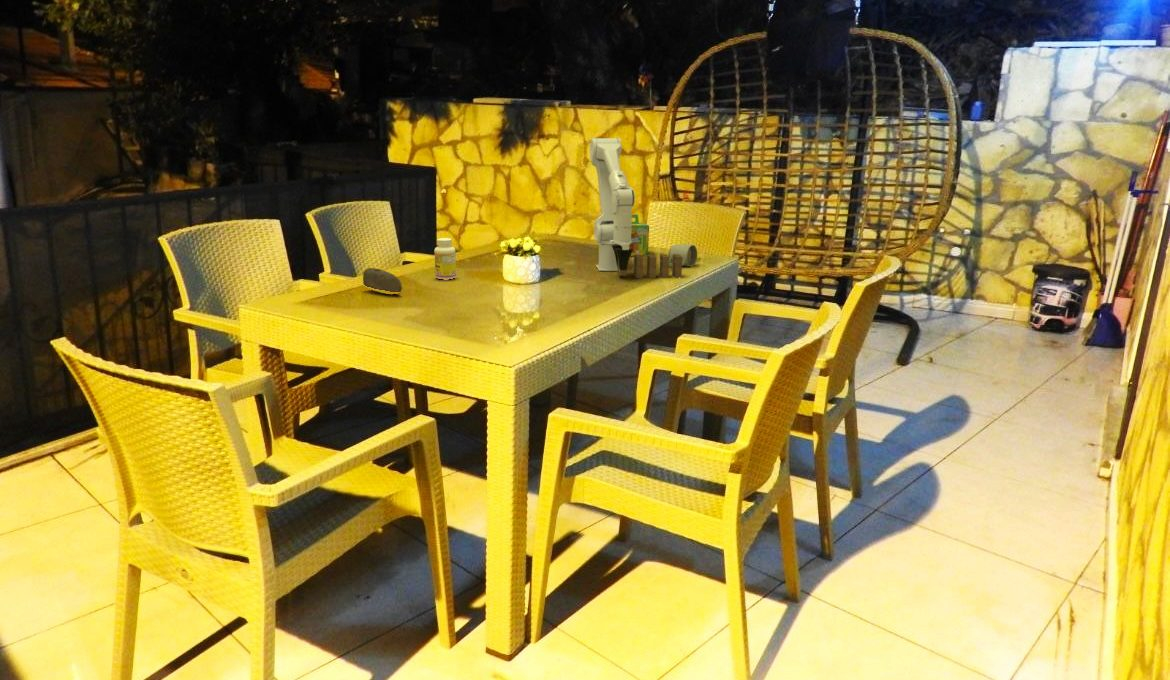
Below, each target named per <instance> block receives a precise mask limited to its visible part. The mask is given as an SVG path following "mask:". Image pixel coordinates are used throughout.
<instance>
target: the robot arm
mask: <svg viewBox="0 0 1170 680" xmlns="http://www.w3.org/2000/svg"><path fill="white" fill-rule="evenodd" d="M622 150H623V144H622V141H621V139H620V138H619V137H614V138H613V137H612V138H606V137H605V138H600V137H599V138H598V137H597V138H596V137H593V138H592V139H591V140H590V143H589V157H590V162H591V165H592V166H593V167H595V169H596V174H597V183H598V184H597V185H598V192H599V193H598V194H599V203H600V212H601V215H599V217H597V218H596V219H595V221H594V222H593V223H594V224H593V226H594V227H593V228H594V229H593V235H594V240H595V241H596V243H598V264H595V268H597V270H598V271H599V272H600V271H601V272H610V271H611V272H613V271H614V272H616V271H617V272H618V262H619V269H620V270H626V271H627V268H628V265H629V260H630V257H631V256H630V255H631V253H632V251H633V249H629V245H630V244H631V243H632V240H631V223H632V222H633V220H632V215H633V212H632V210H633V207H634V205H635V202H636V195H635V191H634V189H633V187H632V186H629V185H630V184H629V183H628V177H627V176H626V173H625V172H624V171H622V169H621V168H622V167H621V163H620V157H621V154H622Z"/></svg>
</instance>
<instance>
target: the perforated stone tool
mask: <svg viewBox="0 0 1170 680" xmlns="http://www.w3.org/2000/svg"><path fill="white" fill-rule="evenodd" d="M362 273H363V275H362V282H363V286H364V285H365V286H367V287H371V288H374V289H379V290H385V291H390V292H400V293H401V292H402V291H403V286H402V283H401V280H400V279H399V278H398V277H397V276H396V275H395V274H393V273H391V272H389V271H387V270H383V269H380V268H375V267H369V268H366V269H364V271H363V272H362ZM365 286H364V287H365Z"/></svg>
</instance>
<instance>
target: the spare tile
mask: <svg viewBox="0 0 1170 680" xmlns="http://www.w3.org/2000/svg"><path fill="white" fill-rule="evenodd" d="M617 274H618V275H619V276H621V277H623V276H625V277H626V276H627V269H626V270H620V269H619V262H618V271H617Z"/></svg>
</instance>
